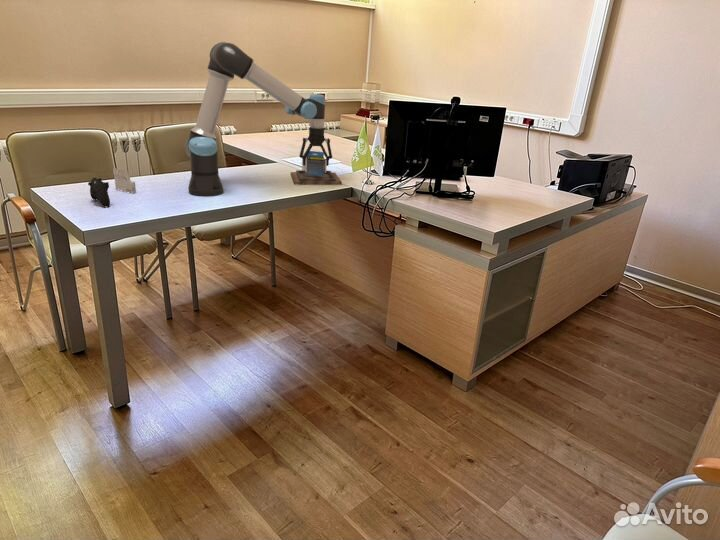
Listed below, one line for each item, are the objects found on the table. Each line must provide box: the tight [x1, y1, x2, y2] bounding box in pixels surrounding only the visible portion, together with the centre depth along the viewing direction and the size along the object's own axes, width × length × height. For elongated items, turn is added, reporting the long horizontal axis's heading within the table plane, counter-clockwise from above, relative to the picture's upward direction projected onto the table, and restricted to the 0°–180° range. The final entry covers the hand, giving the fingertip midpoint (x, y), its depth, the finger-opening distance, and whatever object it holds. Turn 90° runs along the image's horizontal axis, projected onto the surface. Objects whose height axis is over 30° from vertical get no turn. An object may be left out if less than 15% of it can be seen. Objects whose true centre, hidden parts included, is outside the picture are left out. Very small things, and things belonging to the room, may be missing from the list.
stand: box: [290, 169, 343, 186], centre depth 262 cm, size 24×21×3 cm
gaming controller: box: [87, 177, 111, 207], centre depth 202 cm, size 14×6×10 cm, turn 45°
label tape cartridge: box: [307, 151, 326, 176], centre depth 259 cm, size 9×4×12 cm, turn 84°
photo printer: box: [301, 148, 321, 171], centre depth 276 cm, size 10×4×12 cm, turn 103°
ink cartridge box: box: [112, 167, 137, 194], centre depth 221 cm, size 2×11×10 cm, turn 59°
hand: (315, 171), depth 261 cm, fingers closed on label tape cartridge, 9 cm apart
